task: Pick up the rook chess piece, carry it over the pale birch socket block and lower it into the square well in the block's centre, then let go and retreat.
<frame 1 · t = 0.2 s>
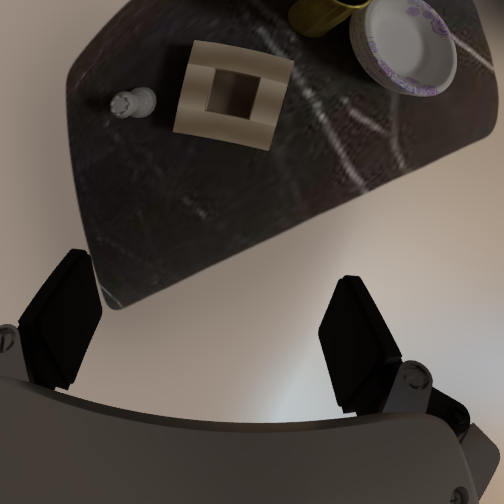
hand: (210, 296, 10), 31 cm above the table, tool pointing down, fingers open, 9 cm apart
vase: (309, 19, 26), on the table
paper bowls: (387, 46, 28), on the table
rook chess piece: (142, 102, 32), on the table
socket block: (232, 93, 32), on the table
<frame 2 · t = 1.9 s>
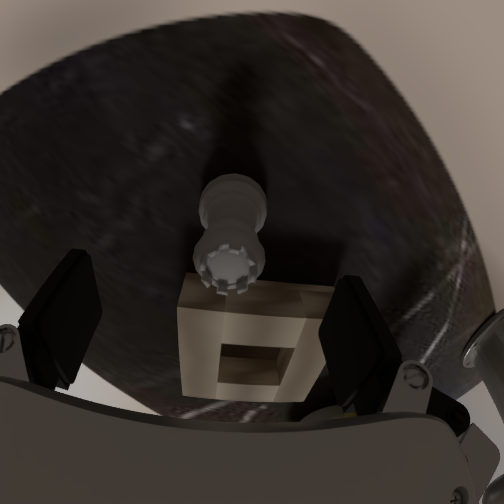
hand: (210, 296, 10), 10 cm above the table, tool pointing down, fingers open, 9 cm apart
paper bowls: (331, 415, 36), on the table
rook chess piece: (233, 202, 19), on the table
socket block: (252, 332, 25), on the table
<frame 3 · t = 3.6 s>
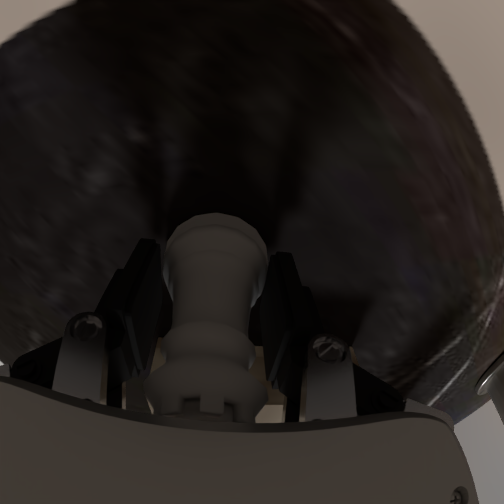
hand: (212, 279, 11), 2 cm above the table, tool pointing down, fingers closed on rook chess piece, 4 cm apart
rook chess piece: (216, 252, 13), on the table, touching gripper
socket block: (247, 394, 19), on the table
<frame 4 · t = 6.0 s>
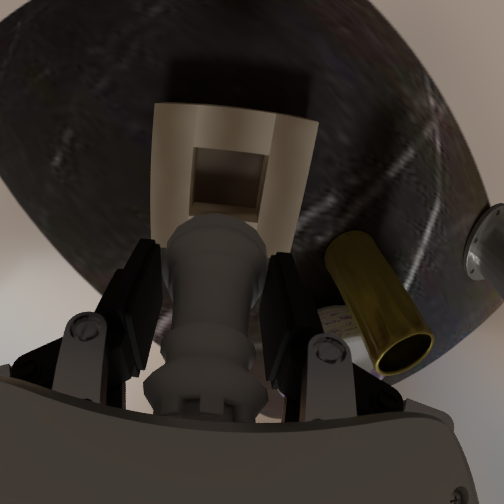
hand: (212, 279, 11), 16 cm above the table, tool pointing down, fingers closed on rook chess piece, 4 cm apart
vase: (349, 253, 30), on the table
paper bowls: (326, 329, 36), on the table
rook chess piece: (216, 252, 13), point 14 cm above the table, touching gripper
socket block: (228, 172, 24), on the table
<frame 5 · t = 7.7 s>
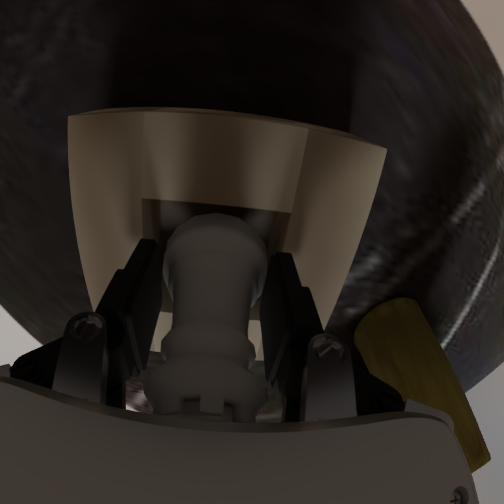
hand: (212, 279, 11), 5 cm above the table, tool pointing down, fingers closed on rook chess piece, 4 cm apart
vase: (386, 322, 20), on the table
rook chess piece: (216, 252, 13), point 3 cm above the table, touching gripper
socket block: (215, 225, 15), on the table
when the fingers open (5 cm above the table, at t = 8.6 s): rook chess piece drops 2 cm, resting on socket block.
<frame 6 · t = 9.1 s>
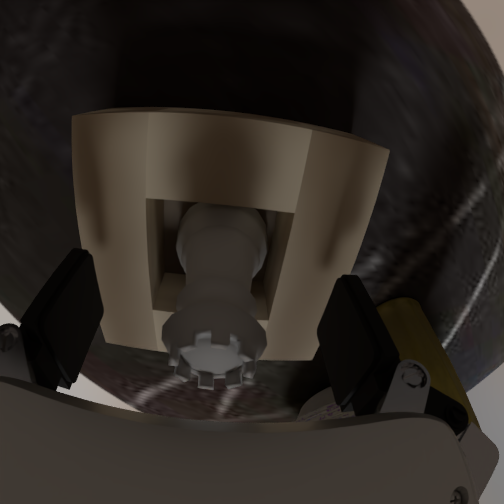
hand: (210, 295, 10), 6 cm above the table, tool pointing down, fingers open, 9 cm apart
vase: (387, 322, 20), on the table
paper bowls: (345, 396, 27), on the table
rook chess piece: (223, 232, 14), point 1 cm above the table, touching socket block
socket block: (218, 225, 15), on the table
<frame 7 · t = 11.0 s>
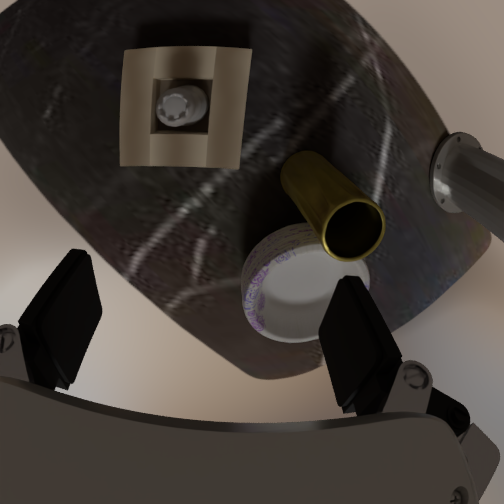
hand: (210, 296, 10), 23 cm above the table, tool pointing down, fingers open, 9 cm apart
vase: (305, 175, 31), on the table
paper bowls: (295, 261, 38), on the table
rook chess piece: (187, 105, 25), point 1 cm above the table, touching socket block
socket block: (186, 104, 26), on the table
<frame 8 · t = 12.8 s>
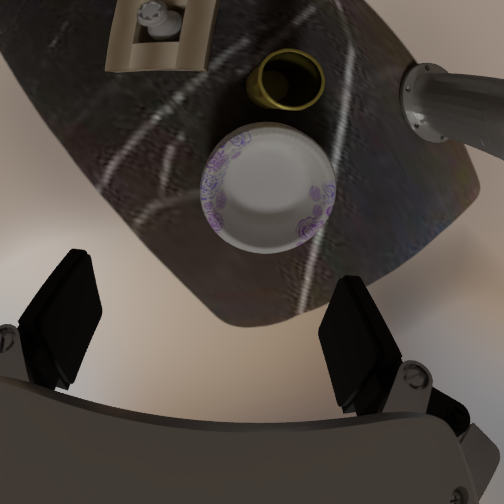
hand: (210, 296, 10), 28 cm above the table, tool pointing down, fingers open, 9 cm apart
vase: (270, 86, 30), on the table
paper bowls: (263, 175, 36), on the table
rook chess piece: (167, 27, 24), point 1 cm above the table, touching socket block
socket block: (167, 28, 25), on the table
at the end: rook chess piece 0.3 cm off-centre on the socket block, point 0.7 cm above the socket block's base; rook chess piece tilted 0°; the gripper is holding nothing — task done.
